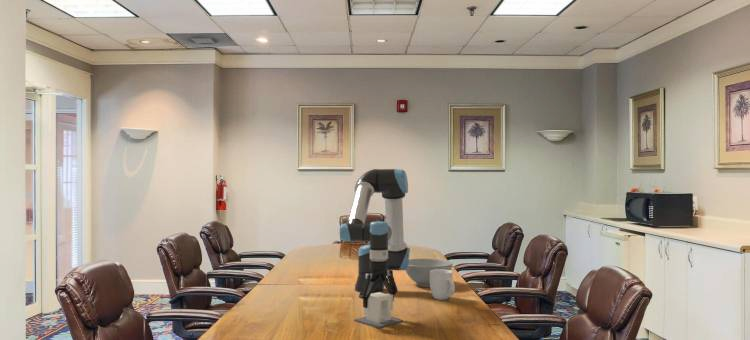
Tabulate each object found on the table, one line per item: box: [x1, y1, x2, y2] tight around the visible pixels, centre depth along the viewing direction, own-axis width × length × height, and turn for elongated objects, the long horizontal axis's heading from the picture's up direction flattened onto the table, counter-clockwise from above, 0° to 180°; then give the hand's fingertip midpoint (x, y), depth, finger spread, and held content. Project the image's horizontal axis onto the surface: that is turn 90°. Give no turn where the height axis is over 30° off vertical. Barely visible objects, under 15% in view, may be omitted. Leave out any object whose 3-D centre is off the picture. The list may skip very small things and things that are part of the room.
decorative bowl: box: [404, 258, 454, 288], centre depth 279 cm, size 27×27×12 cm
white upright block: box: [367, 291, 392, 323], centre depth 209 cm, size 7×7×10 cm
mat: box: [353, 315, 404, 329], centre depth 209 cm, size 14×14×1 cm
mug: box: [429, 269, 456, 301], centre depth 246 cm, size 15×11×13 cm
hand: (378, 312), depth 209 cm, fingers open, 12 cm apart
